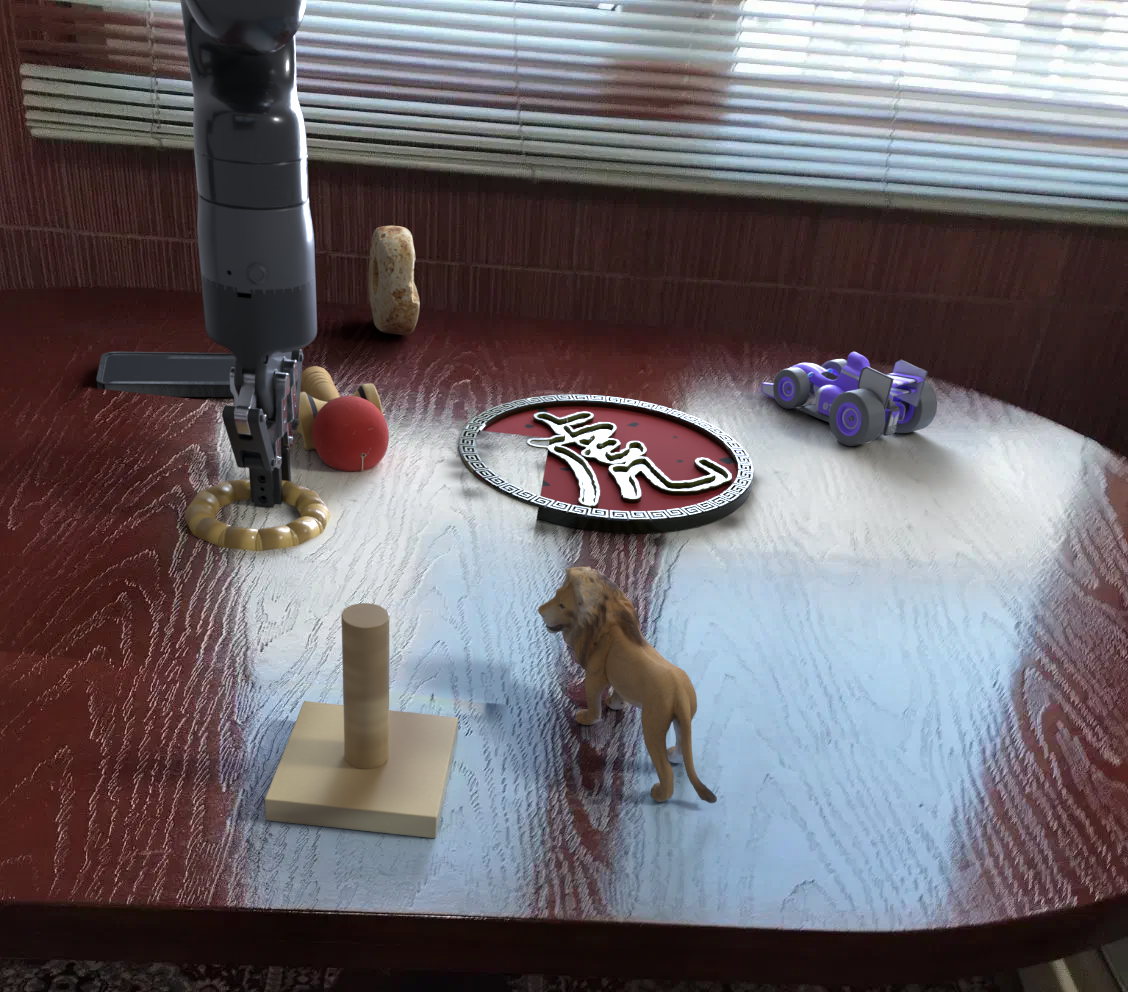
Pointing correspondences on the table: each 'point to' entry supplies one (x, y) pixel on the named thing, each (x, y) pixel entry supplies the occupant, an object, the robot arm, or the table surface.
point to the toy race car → (858, 397)
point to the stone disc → (393, 281)
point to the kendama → (341, 422)
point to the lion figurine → (626, 670)
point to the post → (364, 748)
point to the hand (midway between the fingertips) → (272, 502)
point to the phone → (167, 373)
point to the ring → (227, 536)
